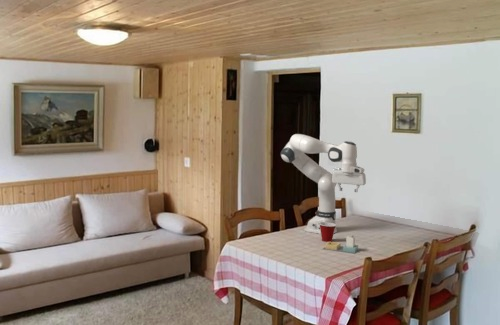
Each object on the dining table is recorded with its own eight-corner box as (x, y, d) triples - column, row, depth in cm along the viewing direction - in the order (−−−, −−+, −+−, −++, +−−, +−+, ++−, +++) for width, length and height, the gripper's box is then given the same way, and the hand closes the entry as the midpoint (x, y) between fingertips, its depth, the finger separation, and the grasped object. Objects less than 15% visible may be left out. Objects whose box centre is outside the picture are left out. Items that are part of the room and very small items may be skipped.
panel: (322, 250, 307) (322, 245, 306) (329, 245, 317) (329, 240, 317) (355, 255, 297) (355, 249, 297) (361, 250, 308) (361, 244, 307)
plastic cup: (338, 243, 322) (339, 225, 320) (322, 244, 320) (322, 225, 318) (332, 239, 332) (332, 221, 331) (316, 240, 330) (316, 221, 329)
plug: (346, 250, 304) (346, 235, 303) (348, 248, 307) (348, 234, 306) (352, 251, 302) (353, 236, 301) (354, 249, 305) (355, 234, 304)
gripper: (330, 168, 312) (330, 190, 314) (364, 170, 303) (363, 193, 304) (334, 167, 318) (333, 189, 320) (366, 169, 308) (366, 192, 310)
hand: (348, 191), depth 312 cm, fingers open, 8 cm apart
